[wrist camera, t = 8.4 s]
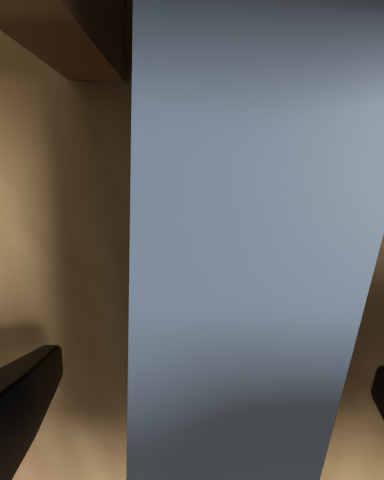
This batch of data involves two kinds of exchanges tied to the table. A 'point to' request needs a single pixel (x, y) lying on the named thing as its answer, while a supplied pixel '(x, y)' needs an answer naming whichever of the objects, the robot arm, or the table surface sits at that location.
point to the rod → (249, 230)
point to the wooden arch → (71, 35)
